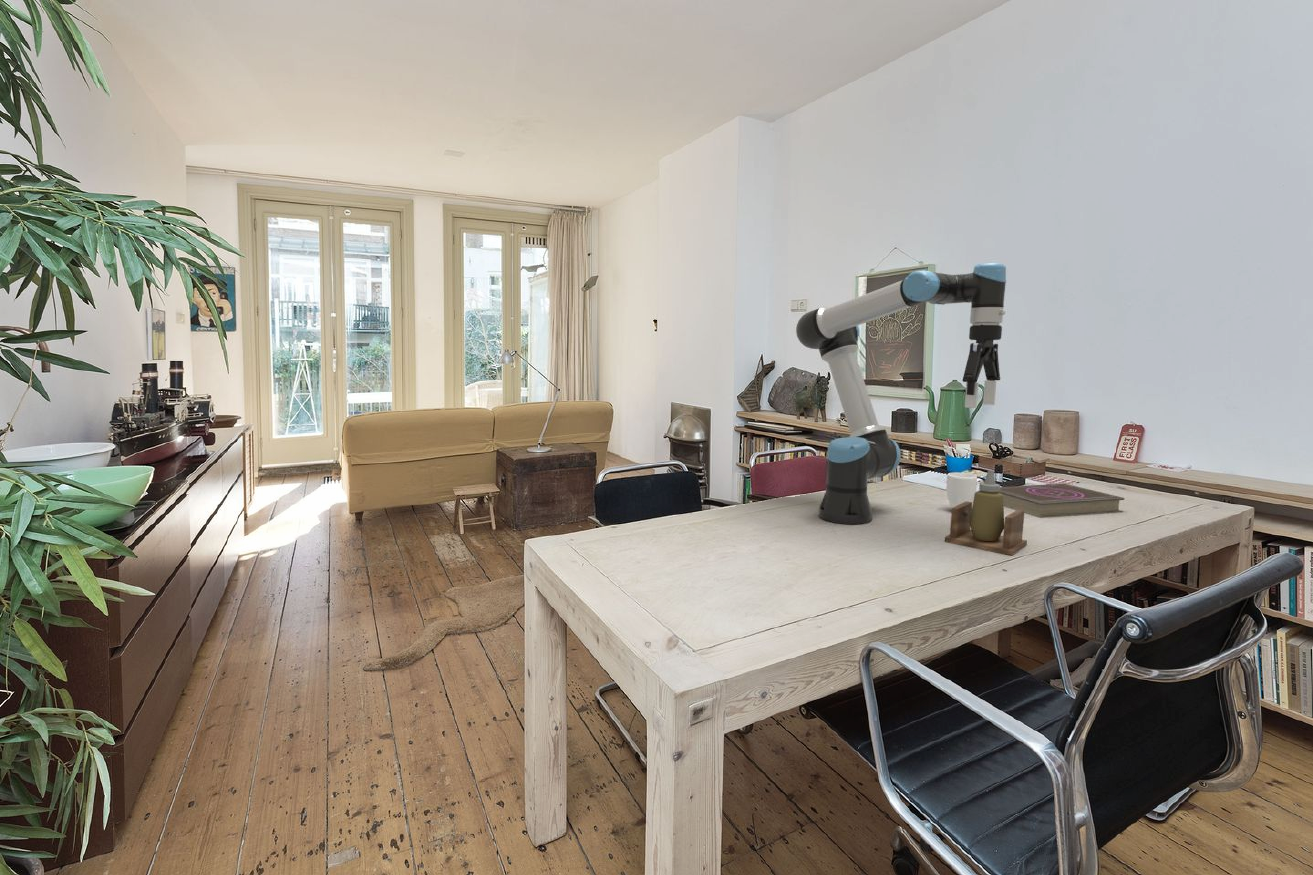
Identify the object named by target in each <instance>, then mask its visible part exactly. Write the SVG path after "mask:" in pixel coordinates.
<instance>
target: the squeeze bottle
mask: <svg viewBox="0 0 1313 875" xmlns="http://www.w3.org/2000/svg"><path fill="white" fill-rule="evenodd" d="M983 482H984V483H980V482H979V486H978V488H979V489H978V490H976V492H975V495H974V500H973V503H972V511H971V516H970V522H969V523H970V530H971V531H972V534H973V537H974V538H976V539H979V540H983V541H997V540H999V538H1000V536H1002V533H1003V532H1004V522H1005V514H1004V513H1005V507H1004V502H1003V495H1002V494H1001V493H999V491H1000V487H1001V485H1000V484H998V483H996V478H995V472H994V470H993V469H988V470H987V472H986V476H985V479H984V480H983ZM979 490H980V491H979Z"/></svg>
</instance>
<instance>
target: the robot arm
mask: <svg viewBox="0 0 1313 875" xmlns="http://www.w3.org/2000/svg"><path fill="white" fill-rule="evenodd" d="M1006 283H1007V267H1006V265H1005V264H1004V263H1000V262H987V263H986V262H985V263H981V264H975V266H974V267H973V271H972V272H971V273H960V274H948V273H941V272H933V271H930V270H915V271H913V272H911V273H909V274H908V275H907V276H906V277H905V278H904V279H902V280H900V281H896V282H894V283H892V284H889V285H887V286H884V287H882V288H878V289H875V290H874V291H870V292H868V293H865V294H862V295H861V296H858V297H855V298H852V299H850V300H847V301H844V302H841V303H838V304H835V305H834V306H831V307H828V306H821V307H819V308H816V309H813V310H811V311H808V312H806V313H805V314H803V315H802V316H801V317H800V318H799V320H798V321H797V324H796V329H795V334H796V337H797V339H798V341H799V342H800V343H801V345H803V346H804V347H806V348H808V349H813V350H818V351H819V354H820V358H821V361H822V360H823V361H824V362H826V363H828V366H829V370H830V372H831V376H832V379H833V382H834V386H835V388H836V391H837V394H838V398H839V400H840V404H841V406H842V410H843V413H844V416H845V420H846V422H847V424H848V425H847V426H848V429H849V431H850V435H849V436H847V437H840V438H839V437H838V438H836V439H832V440H831V441H830V442H829V443H828V446H827V451H826V483H825V492H824V495H823V498H822V500H821V503H820V504H819V508H818V517H819V518H820V519H822V520H824V521H828V522H831V523H837V524H844V525H845V524H846V525H859V524H860V525H861V524H867V523H870V522H871V521H872V520H873V511H872V507H871V506H872V505H871V504H870V503H871V502H870V499H869V497H868V496H869V495H868V481H869V480H870V479H876V478H881V477H885V476H887V475H890V474H892V473H893V472H894V471H896V469H897V468H898V466H899V464H900V461H901V454H902V453H901V449H900V446H899V445H898V443H897V442H896V441H894V440H893V439H892V438H889V435H888V432H887V430H886V428H884V427H882V426H881V425H879V422H878V419H877V416H876V412H875V410H874V408H873V404H872V401H871V398H870V395H869V391H868V388H867V385H866V383H865V379H864V376H863V374H862V373H863V372H862V371H861V367H860V365H859V361H858V359H857V355H856V352H857V351H858V349H859V346H858V341H859V336H860V328H859V326H860V325H863V324H866V323H869V322H872V321H875V320H877V319H881V318H884V317H887V316H889V315H892V314H894V313H897V312H898V313H899V312H900V311H904V310H906V309H908V308H912V307H915V306H919V305H921V304H924V303H929V304H931V305H943V306H944V305H950V304H962V303H966V304H967V303H969V304H970V303H971V307H970V317H969V323H970V324H971V325H970V327H969V334H968V338H969V340H970V341H975V342H971V343H970V344H969V345H970V346H969V351H968V357H967V361H966V364H965V369H964V372H963V377H962V382H964V383H966V384H965V385H966V386H965V398H964V399H965V400H964V408H966V409H967V408H968V409H969V408H971V409H977V407H978V395H979V383H980V382H978V379H979V377H980V374H981V371H982V368H983V370H984V374H985V380H984V383H983V384H984V387H983V399H982V400H983V401H982V405H987V406H988V405H989V406H995V402H996V390H997V381H1001V374H1000V363H999V362H1000V361H999V351H998V350H999V344H998V343H994V341H999V340H1001V339H1002V335H1003V334H1002V333H1003V327H1002V325H1000V324H1002V323H1003V317H1004V315H1005V314H1006V311H1004V307H1005V306H1004V304H1005V294H1006Z"/></svg>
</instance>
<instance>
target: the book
mask: <svg viewBox="0 0 1313 875" xmlns="http://www.w3.org/2000/svg"><path fill="white" fill-rule="evenodd" d="M999 493H1001V494H1002V495H1003V502H1004V508H1005V507H1006V508H1009V509H1011V510H1014V511H1016V510H1022V511H1024V514H1026V515H1029V516H1030V515H1031V516H1033V517H1037V518H1040V519H1043V518H1045V519H1046V518H1059V517H1072V516H1087V515H1102V514H1103V515H1104V514H1113V513H1114V514H1115V513H1117V514H1119V513H1123V512H1124V511H1122V510H1120V509H1119V505H1120V501H1125V497H1122V496H1117V495H1114V494H1109V493H1105V492H1101V491H1098V490H1097V491H1096V490H1092V489H1089V488H1086V487H1081V486H1076V485H1072V484H1068V483H1051V484H1049V483H1048V484H1036V485H1035V484H1033V485H1032V484H1031V485H1018V486H1017V485H1014V486H1011V485H1010V486H1000V491H999ZM1118 512H1119V513H1118Z"/></svg>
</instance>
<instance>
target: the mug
mask: <svg viewBox="0 0 1313 875" xmlns="http://www.w3.org/2000/svg"><path fill="white" fill-rule="evenodd" d="M946 475H947V476H946V497H947V499H948V502H949V505H950V508H951V510H952V508H953V507H955V506H957V505H959V504H961V503H964V502H966V501H967V502H972V504H973V500H974V495H975V492H977V487H978V486H977V484H978V482H979V484H980V483H984V480H983V479H981V478H978V476H977V475H975V474H974V473H973V474H972V473H968V472H949V473H948V474H946ZM978 491H980V490H979V489H978Z"/></svg>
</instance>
